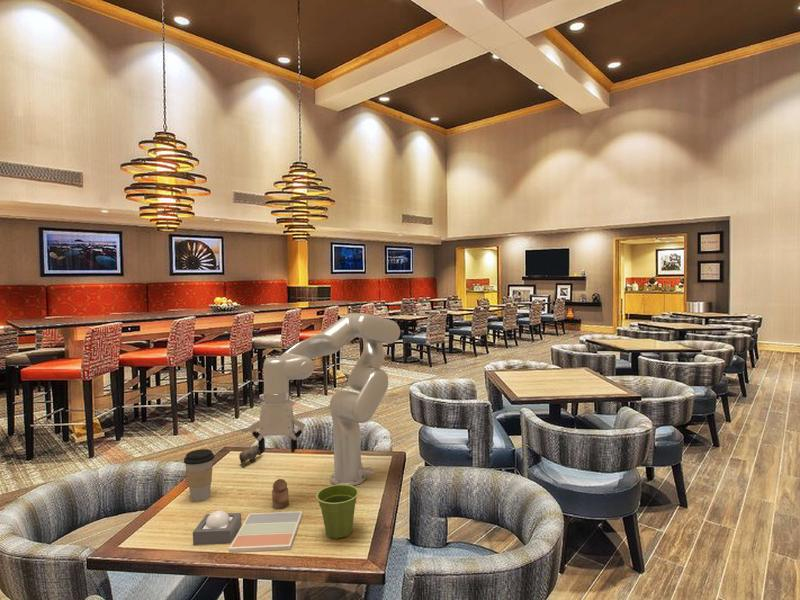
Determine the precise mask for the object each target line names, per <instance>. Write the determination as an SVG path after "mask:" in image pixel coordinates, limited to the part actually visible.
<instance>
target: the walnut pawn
mask: <svg viewBox="0 0 800 600" xmlns="http://www.w3.org/2000/svg"><path fill="white" fill-rule="evenodd" d="M271 495H272V496H271V498H272V499H271V501H272V503H271V505H272V509H274V510H284V509H286V508H288V507H289V505H290V501H289V499H290V498H289V487H288V483H287V481H286V480H285V479H283V478H279V479H276V480H275V481H274V482H273V484H272V490H271Z"/></svg>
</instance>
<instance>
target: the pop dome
mask: <svg viewBox="0 0 800 600" xmlns="http://www.w3.org/2000/svg"><path fill="white" fill-rule="evenodd" d="M209 514H210V515H209V516H208V518H207V520H206V525H205V526H204V527H203V529H214V528H227V526H228V525H229V523H230V521H231V520H232V518H233V517H229V515H228V514H227V512H226V511H224V510H215V511H212V512H211V513H209Z"/></svg>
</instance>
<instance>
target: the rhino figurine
mask: <svg viewBox="0 0 800 600" xmlns="http://www.w3.org/2000/svg"><path fill="white" fill-rule="evenodd" d="M261 455H262V454H260V450H259V448H258V444H255V445H252V446H251V447H250V448H246V449H244V450H242V451H241V452H240V453H239V455H238V456H239V460H240V466H241V468H246V467H247V466H246V465H245V463H246V462H247V461H248V460H249V462H253V463H256V462H257V460H256V458H257V456H261Z"/></svg>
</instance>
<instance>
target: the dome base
mask: <svg viewBox="0 0 800 600" xmlns="http://www.w3.org/2000/svg"><path fill="white" fill-rule="evenodd" d="M226 513H227V512H226ZM210 514H211V513H206V514H205V515H204V517H203V518H202V519H201V520H200V522H199V523H198V525H197V526H195V527H196V528H195V529H194V530H193V531H192V545H193V546H197V545H199V546H200V545H221V544H223V545H224V544H232V542H233V541H234V539H235V537H236V535H237V534H238V532H239V530H240V529H241V527H242V525H243V523H242V512H231V513H230V512H228V513H227V514H228V515H229V517H233V518H232V520H231V521H230V523H229V525H228V526H227V528H214V529H203V527H204V526H205V525H206V520H207V518H208V516H209V515H210Z"/></svg>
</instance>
